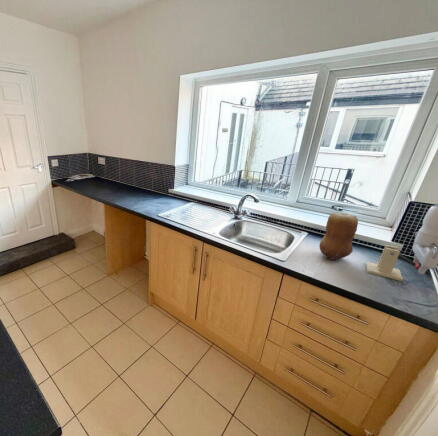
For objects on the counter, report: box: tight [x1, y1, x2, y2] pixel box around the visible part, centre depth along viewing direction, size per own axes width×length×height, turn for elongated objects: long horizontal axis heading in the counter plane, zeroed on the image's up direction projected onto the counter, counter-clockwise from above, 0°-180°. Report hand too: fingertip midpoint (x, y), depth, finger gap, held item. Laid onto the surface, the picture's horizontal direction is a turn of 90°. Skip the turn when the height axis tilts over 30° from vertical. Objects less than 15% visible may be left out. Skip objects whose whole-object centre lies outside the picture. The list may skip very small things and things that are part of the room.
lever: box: [389, 247, 421, 270], centre depth 110 cm, size 12×5×2 cm, turn 53°
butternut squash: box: [319, 212, 359, 261], centre depth 122 cm, size 14×13×25 cm
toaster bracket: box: [365, 244, 404, 282], centre depth 113 cm, size 12×10×13 cm
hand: (418, 268), depth 108 cm, fingers open, 8 cm apart
